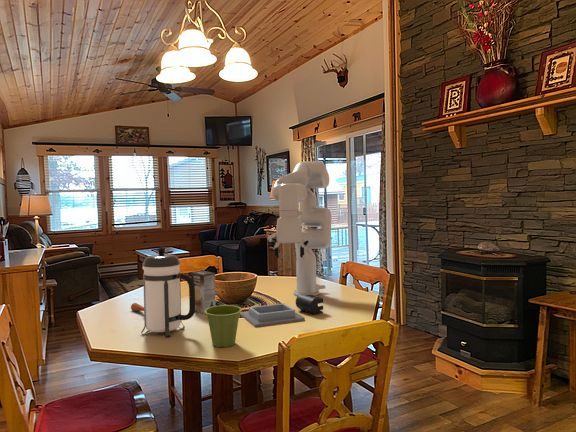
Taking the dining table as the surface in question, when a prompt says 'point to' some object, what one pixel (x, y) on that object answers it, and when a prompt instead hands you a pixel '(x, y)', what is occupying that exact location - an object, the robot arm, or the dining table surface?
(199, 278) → the coffee box
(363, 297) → the dining table surface
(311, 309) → the black lumpy block
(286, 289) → the dining table surface
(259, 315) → the tray
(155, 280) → the coffee press
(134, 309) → the kendama
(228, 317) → the plant pot
